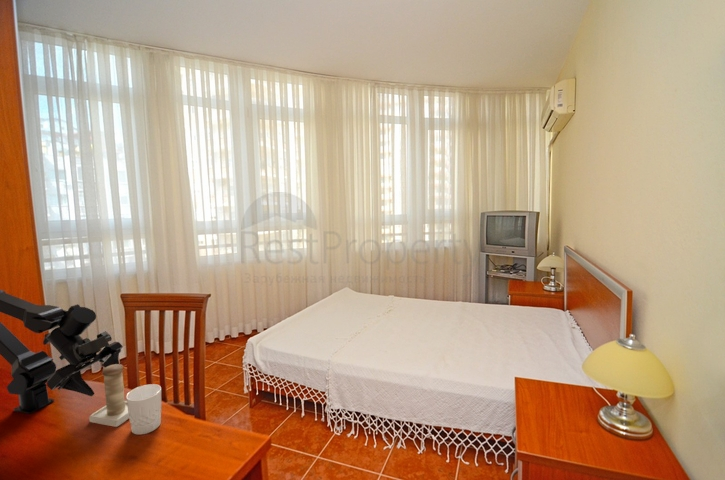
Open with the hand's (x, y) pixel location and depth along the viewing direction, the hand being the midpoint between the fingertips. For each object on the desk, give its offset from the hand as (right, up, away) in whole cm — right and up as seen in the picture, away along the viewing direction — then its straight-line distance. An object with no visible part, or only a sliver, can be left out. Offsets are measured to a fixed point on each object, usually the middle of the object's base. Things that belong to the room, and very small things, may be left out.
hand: (108, 385), depth 96 cm
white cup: (+13, -10, -4) cm, 17 cm away
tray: (+2, -9, +1) cm, 9 cm away
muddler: (+2, -8, +1) cm, 8 cm away
